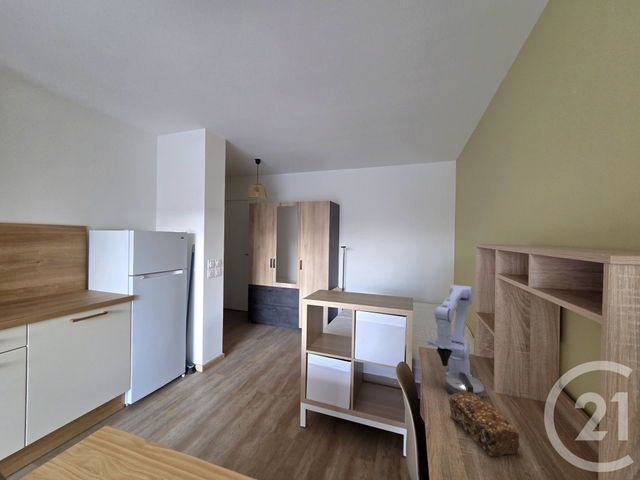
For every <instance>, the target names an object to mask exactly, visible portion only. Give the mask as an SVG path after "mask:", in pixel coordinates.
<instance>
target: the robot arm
mask: <svg viewBox="0 0 640 480" xmlns="http://www.w3.org/2000/svg"><path fill="white" fill-rule="evenodd" d="M474 293H475V292H474V288H473V286H471V285H470V286H469V285H459V284H451V285H450V287H449V296H448V297H446V298H445V299H444V300H443V302H442V303H441V305H440V306H437V307H435V309H434V318H435V323H436V326H437V327H436V330H437V331H436V333H437V335H436V336H437V338H436V339H437V340H435V339H430V338H429V339H427V340H426V342H427V345H429V346H434V347H437V349H436V352H437V353H438V355H439V357H440V360H441V363H442V366H444V367H447V366H448V371H446V372H444V374H445V375H446V376H447V375H448V374H451V373H459V372H462V373H465V374H466V375H470V376H472V377H473V375H472V374H471V363H470V362H471V361H470V360H469V358H470V353H471V352H470V351H471V349H470V343H469V341H467V339H465V333H466V332H465V331H466V330H465V329H466V323H467V315H468V311H469V306H470V305H472V304H473V302H474V295H475V294H474ZM455 311H456V312H455ZM454 315H455V317H454ZM454 319H455V320H454ZM453 320H454V324H453V331H452V322H453Z"/></svg>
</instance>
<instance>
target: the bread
mask: <svg viewBox="0 0 640 480" xmlns="http://www.w3.org/2000/svg"><path fill="white" fill-rule="evenodd" d="M449 410H450V415H451V416H452V419H453V420H455V421H456V422H457V423H458V425H459V426H460V427H461V429H462V430H464V432H466V434H468V436H469V437H470V438H471V439H472V440H473V441H474V442H475V443H477V444H478V446H480V447H481V448H482V449H483V450H484V451H485V452H486V453H487V454H488V455H489V456H490V457H502V456H503V455H516V454H518V452H519V448H520V441H519V439H520V434H519V432H518V430H517V429H516V427H515V426H514V424H513V423H512V422H511V421H509V419H508V418H507V417H505V416H504V415H503V413H501V412H500V411H499V410H498V409H497V408H495V407H494V406H492V405H491V404H490V403H488V402H487V401H486V400H484V399H480V398H479V397H478V396H477V395H475V394H474V393H471V392H465V391H460V392H455V393H453V394H452V395H450V398H449Z"/></svg>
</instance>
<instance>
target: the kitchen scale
mask: <svg viewBox="0 0 640 480" xmlns="http://www.w3.org/2000/svg"><path fill="white" fill-rule="evenodd" d="M446 384H447V385H446V386H447V387H446V388H447V392H448V393H449V394H450V395H449V396H451V395H452V394H453V393H455V392H460V390H457V389H455V388H453V387H452V386H450V385H449V384H448V383H447V382H446ZM483 392H484V390H483V391H482V392H479V393H474V394H475V395H477V396H478V397H479V398H480V399H482V400H484V399H483V398H484V397H483V395H484V394H483Z"/></svg>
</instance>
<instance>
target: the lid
mask: <svg viewBox="0 0 640 480" xmlns="http://www.w3.org/2000/svg"><path fill="white" fill-rule="evenodd" d="M445 380H446V381H445V382H446V384H447V383H448V384H449V385H450V386H452V387H453V388H455V389H457V390H460V391H465V392H471V393H479V392H482V391H483V392H484V390H485V387H484V383H483V382H482V381H481V380H480V379H478V378H476V377H474V376H473V375H472V376H470V375H466V374H465V373H462V372H459V373H451V374H448V375H446V376H445ZM483 392H482V393H483Z"/></svg>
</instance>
